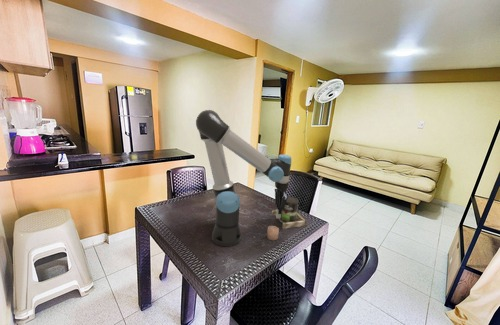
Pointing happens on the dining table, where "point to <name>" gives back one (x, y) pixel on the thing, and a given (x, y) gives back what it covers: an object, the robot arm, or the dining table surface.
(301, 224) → the corral
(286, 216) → the coffee can
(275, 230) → the tan rounded block
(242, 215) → the dining table surface
